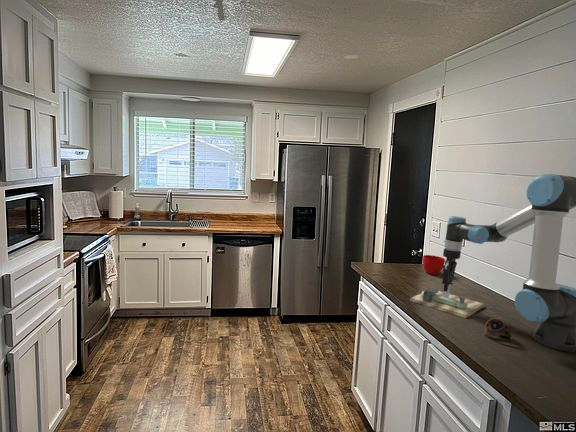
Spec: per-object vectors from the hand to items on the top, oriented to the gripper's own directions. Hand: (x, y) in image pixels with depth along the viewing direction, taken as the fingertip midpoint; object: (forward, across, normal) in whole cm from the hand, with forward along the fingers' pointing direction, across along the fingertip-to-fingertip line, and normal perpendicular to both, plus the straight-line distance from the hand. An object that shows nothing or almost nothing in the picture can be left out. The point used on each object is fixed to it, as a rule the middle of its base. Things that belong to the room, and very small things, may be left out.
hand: (445, 297), depth 195 cm
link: (+2, +3, 0) cm, 3 cm away
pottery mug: (+3, +22, +28) cm, 35 cm away
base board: (+3, -2, +1) cm, 4 cm away
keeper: (+2, +4, -6) cm, 7 cm away
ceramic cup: (+4, -57, -26) cm, 63 cm away
